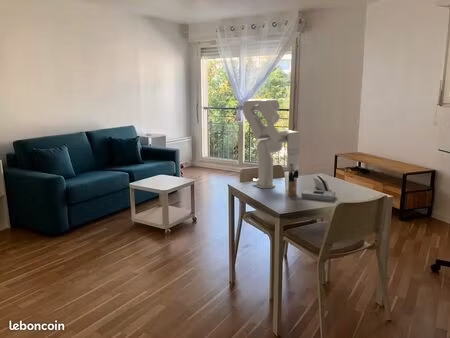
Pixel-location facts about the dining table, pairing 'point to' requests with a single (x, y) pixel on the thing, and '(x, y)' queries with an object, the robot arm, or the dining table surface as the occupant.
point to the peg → (292, 187)
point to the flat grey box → (318, 195)
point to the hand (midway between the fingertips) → (293, 179)
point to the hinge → (321, 183)
